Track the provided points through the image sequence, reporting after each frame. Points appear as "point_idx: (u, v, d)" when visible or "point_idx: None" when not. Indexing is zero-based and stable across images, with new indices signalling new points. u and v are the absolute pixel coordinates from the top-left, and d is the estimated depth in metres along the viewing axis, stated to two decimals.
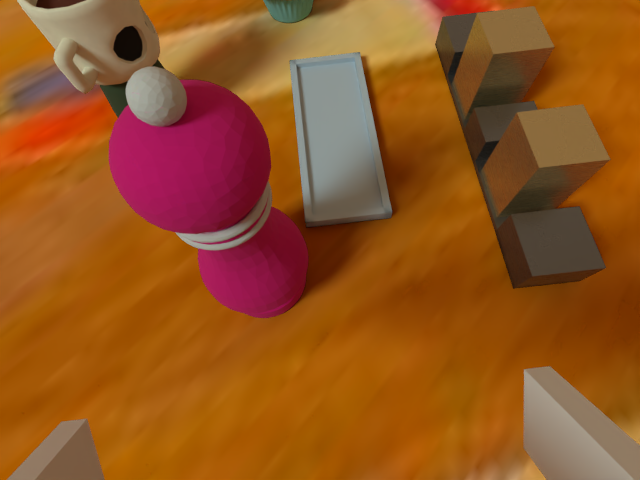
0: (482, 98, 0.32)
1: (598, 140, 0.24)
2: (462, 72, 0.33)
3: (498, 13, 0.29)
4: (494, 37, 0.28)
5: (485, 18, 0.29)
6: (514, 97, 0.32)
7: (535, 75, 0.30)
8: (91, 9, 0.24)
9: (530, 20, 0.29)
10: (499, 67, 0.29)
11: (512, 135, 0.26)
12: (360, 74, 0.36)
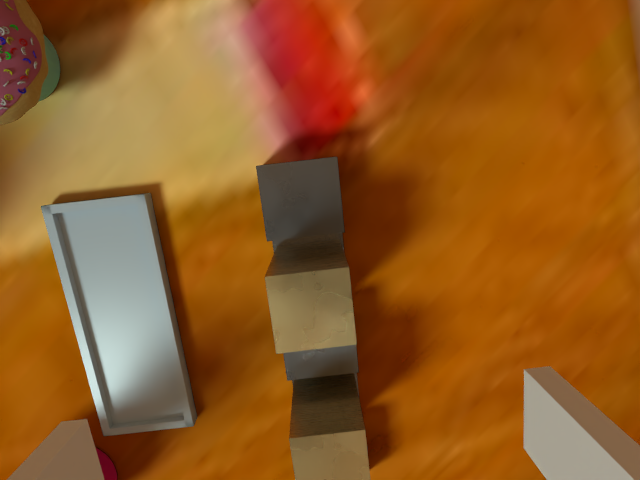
0: None
1: (366, 472, 0.23)
2: None
3: (295, 278, 0.20)
4: (281, 324, 0.20)
5: (275, 288, 0.20)
6: None
7: None
8: None
9: (337, 295, 0.20)
10: None
11: None
12: (148, 237, 0.26)
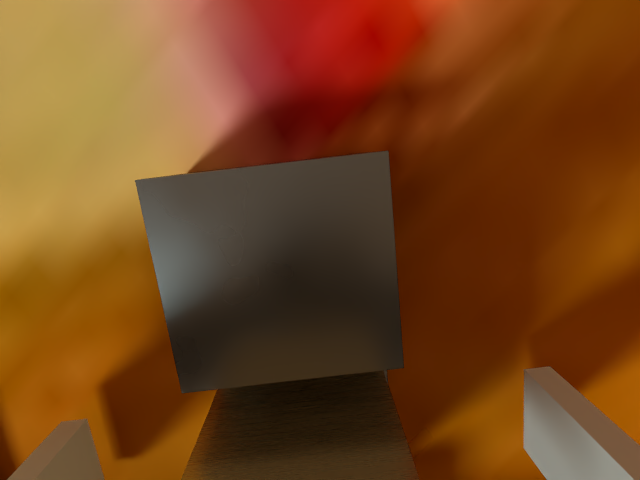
0: None
1: None
2: None
3: None
4: None
5: None
6: None
7: None
8: None
9: None
10: None
11: None
12: None
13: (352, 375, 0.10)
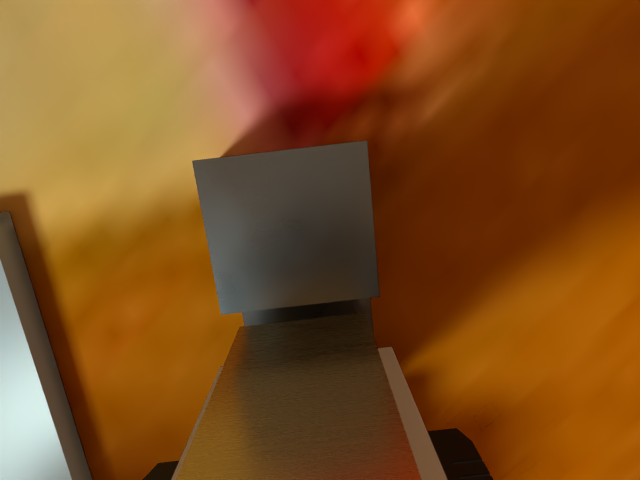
0: None
1: None
2: None
3: None
4: None
5: None
6: None
7: None
8: None
9: None
10: None
11: None
12: (2, 297, 0.14)
13: (344, 329, 0.12)
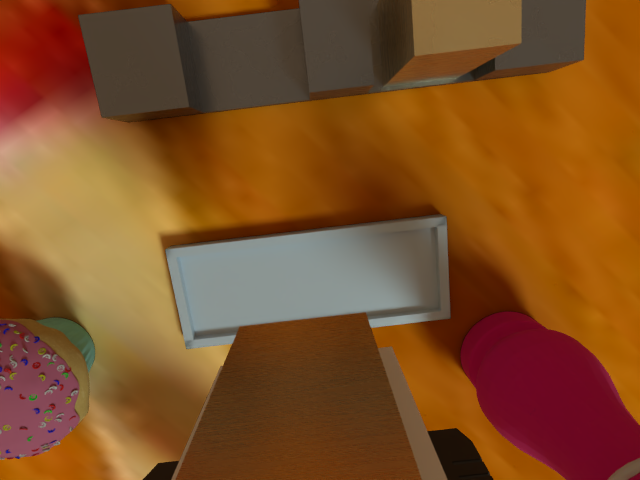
0: None
1: None
2: None
3: None
4: None
5: None
6: None
7: None
8: None
9: None
10: None
11: (425, 61, 0.17)
12: (212, 249, 0.24)
13: (344, 329, 0.12)
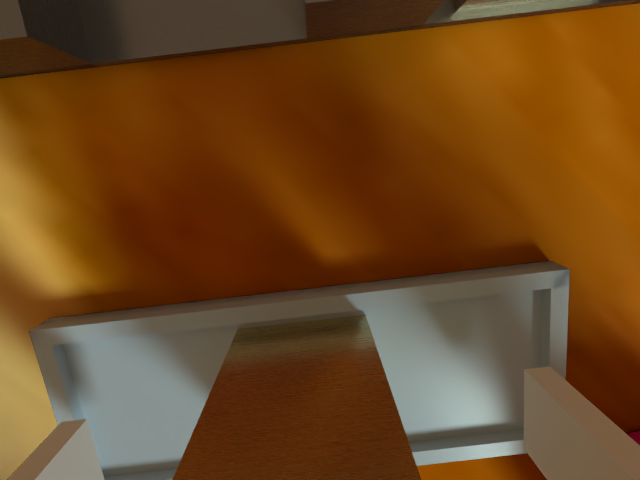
0: None
1: None
2: None
3: None
4: None
5: None
6: None
7: None
8: None
9: None
10: None
11: None
12: (119, 331, 0.12)
13: (344, 331, 0.12)
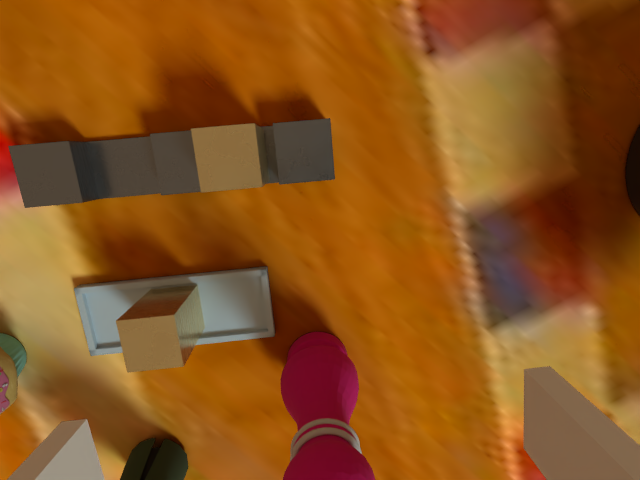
0: None
1: (233, 127, 0.26)
2: None
3: (137, 322, 0.29)
4: (129, 352, 0.30)
5: (123, 328, 0.29)
6: None
7: None
8: None
9: (167, 333, 0.30)
10: None
11: None
12: (106, 288, 0.35)
13: (185, 289, 0.35)
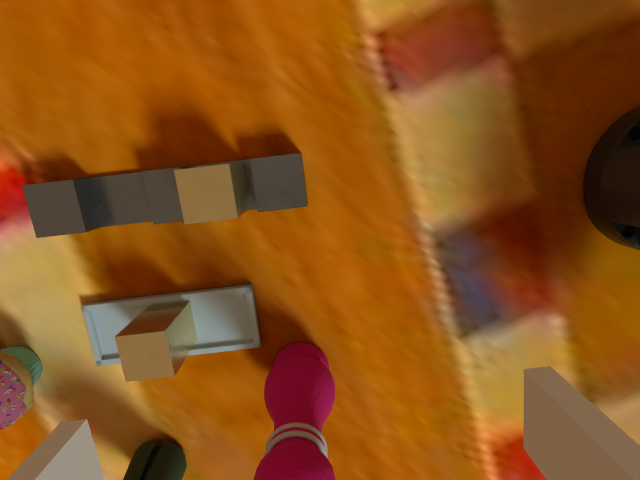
0: None
1: (210, 167, 0.30)
2: None
3: (133, 337, 0.33)
4: (127, 364, 0.34)
5: (121, 343, 0.33)
6: None
7: (182, 360, 0.37)
8: None
9: (159, 347, 0.34)
10: None
11: None
12: (109, 306, 0.39)
13: (178, 306, 0.39)
